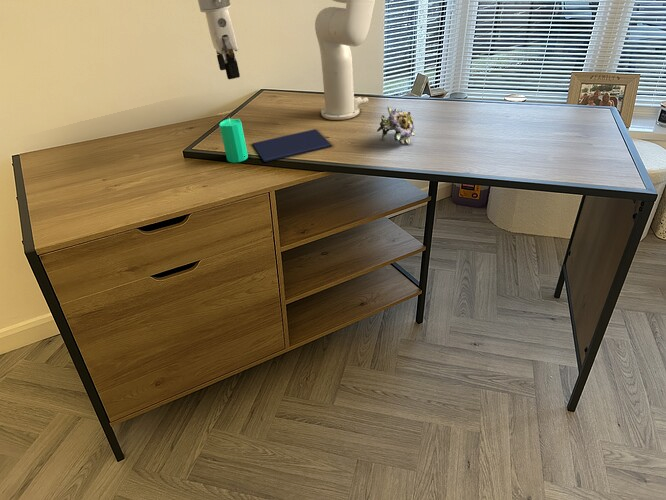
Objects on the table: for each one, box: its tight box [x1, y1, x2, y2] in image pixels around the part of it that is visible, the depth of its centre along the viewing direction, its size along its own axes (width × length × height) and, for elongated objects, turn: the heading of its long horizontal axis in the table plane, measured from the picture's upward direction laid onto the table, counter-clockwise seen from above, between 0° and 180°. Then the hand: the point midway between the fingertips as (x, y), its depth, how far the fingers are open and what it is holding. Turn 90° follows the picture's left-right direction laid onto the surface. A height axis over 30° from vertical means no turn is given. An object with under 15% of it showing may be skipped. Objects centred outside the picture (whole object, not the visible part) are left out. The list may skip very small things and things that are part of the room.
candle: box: [218, 117, 249, 164], centre depth 133 cm, size 6×6×12 cm
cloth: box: [252, 128, 333, 163], centre depth 140 cm, size 20×14×1 cm
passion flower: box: [376, 106, 415, 145], centre depth 135 cm, size 11×11×12 cm
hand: (229, 73), depth 128 cm, fingers open, 9 cm apart
